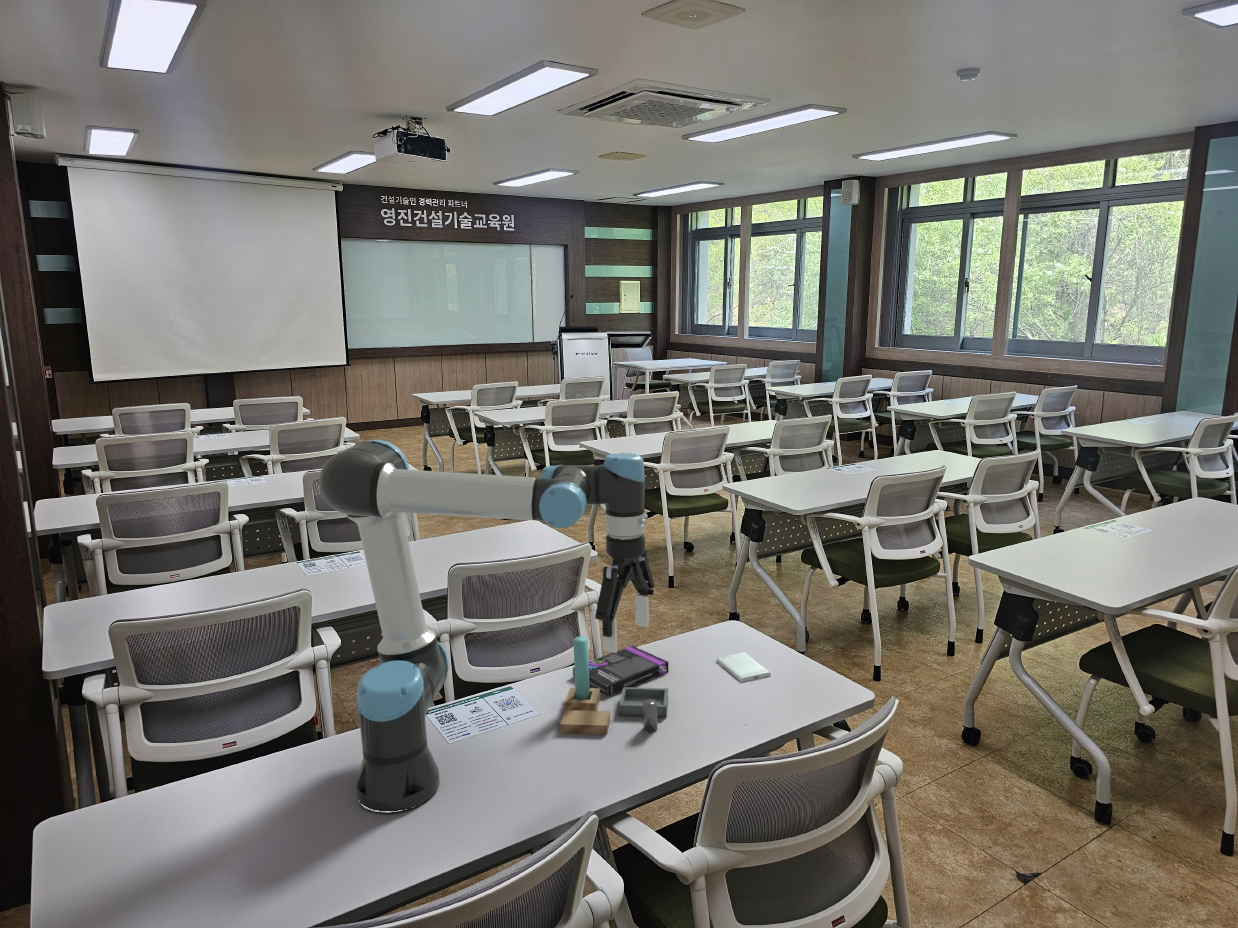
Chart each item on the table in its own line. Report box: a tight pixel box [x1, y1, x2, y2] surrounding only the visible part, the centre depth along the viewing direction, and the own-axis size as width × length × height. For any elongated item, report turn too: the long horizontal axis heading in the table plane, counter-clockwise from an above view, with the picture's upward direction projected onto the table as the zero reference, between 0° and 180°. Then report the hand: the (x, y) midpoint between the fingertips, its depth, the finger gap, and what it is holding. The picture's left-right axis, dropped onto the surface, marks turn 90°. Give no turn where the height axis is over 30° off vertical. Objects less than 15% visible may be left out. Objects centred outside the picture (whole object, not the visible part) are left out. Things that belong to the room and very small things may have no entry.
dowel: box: [572, 636, 590, 700], centre depth 177 cm, size 3×3×16 cm
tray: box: [618, 686, 669, 718], centre depth 177 cm, size 10×8×3 cm
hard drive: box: [716, 651, 771, 683], centre depth 195 cm, size 2×8×12 cm
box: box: [572, 645, 670, 698], centre depth 193 cm, size 14×4×20 cm
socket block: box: [564, 687, 601, 711], centre depth 178 cm, size 7×7×2 cm
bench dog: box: [642, 699, 658, 733], centre depth 167 cm, size 3×3×6 cm
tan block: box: [559, 709, 611, 736], centre depth 169 cm, size 10×6×2 cm, turn 84°
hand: (626, 637), depth 155 cm, fingers open, 13 cm apart
